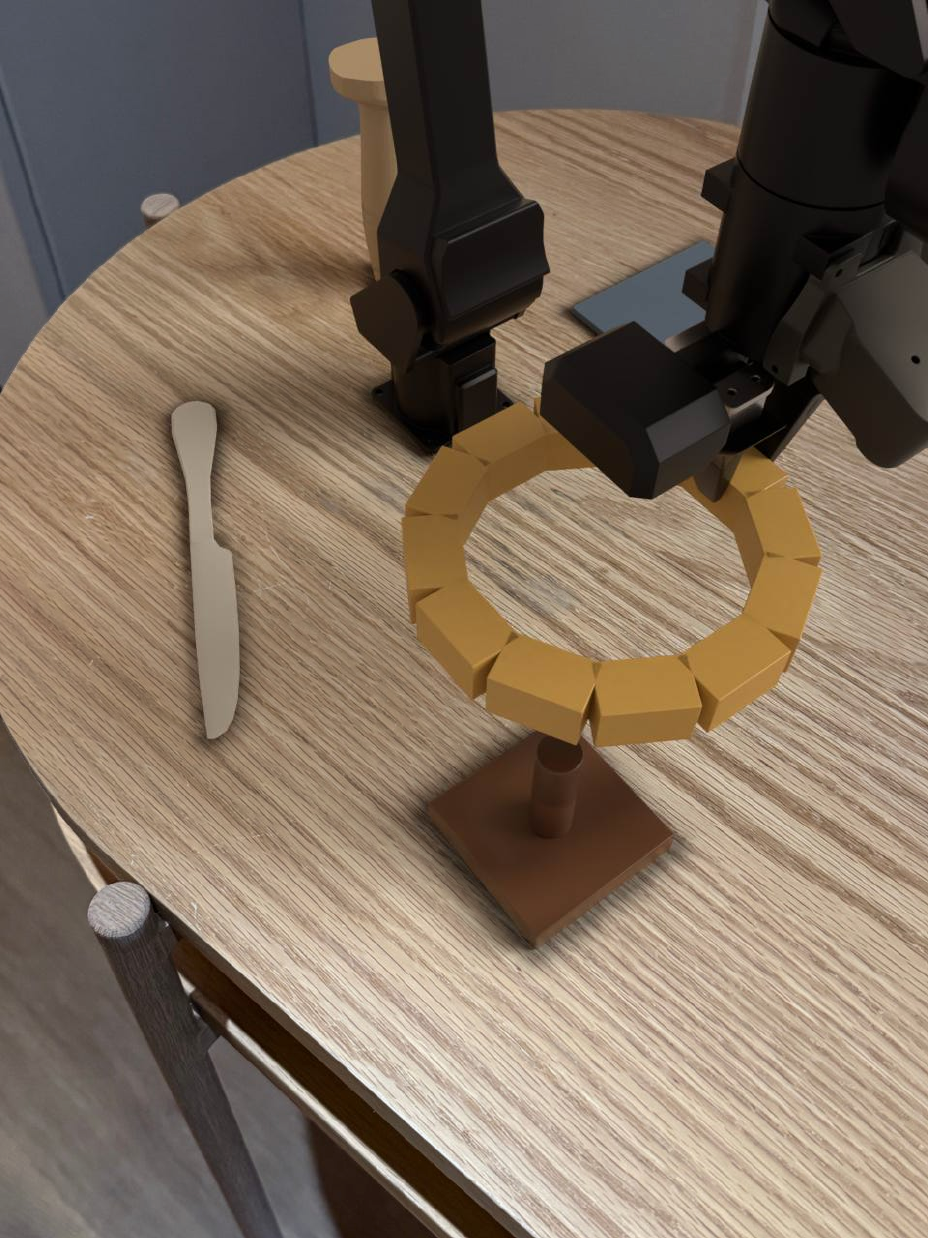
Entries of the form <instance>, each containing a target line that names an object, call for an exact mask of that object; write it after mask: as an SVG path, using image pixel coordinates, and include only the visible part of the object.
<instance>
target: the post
mask: <svg viewBox="0 0 928 1238" xmlns="http://www.w3.org/2000/svg"><path fill="white" fill-rule="evenodd" d="M427 805H428V818H429V820H430V822H432V823H433V824H434V826H435V827H436V828H437V830H438V831H439V832H440V833H441V834H442V835H443V837H444V838H445V839H446V841H447V842H448V843H449V844H450V846H451V847H452V848H453V849H454V850H455V852H456V853H457V854H458V855H459V856H460V858H461V860H463V862H464V863H465V864H466V865H467V867H468V868H469V869H470V870H471V871H472V873H473V874H474V875H475V876H476V878H477V879H478V880H479V881H480V883H481V884H482V885H483V886H484V888H485V889H486V890H487V891H488V892H489V894H490V895H491V896H492V897H493V899H494V900H495V901H496V903H497V904H498V906H500V908H501V909H502V910H503V911H504V913H506V915H507V916H508V918H509V919H510V920H511V921H512V922H513V924H514V925H515V926H516V927H517V929H518V930H519V931H520V932H521V934H522V935H523V936H524V937H525V938H526V939H527V941H528V942H529V943H530V944H531V946H532V947H533V948H534V949H535V950H538V949H539V948H541V947H542V946H543V945H545V944H546V943H547V942H548V941H550V940H551V939H553V938H555V936H556V935H557V934H559V933H561V932H562V931H563V930H565V929H566V928H567V927H568V926H570V925H571V924H572V923H574V922H575V921H576V920H578V918H581V917H582V916H583V915H584V914H586V913H587V912H589V910H591V909H592V908H594V907H595V906H596V905H598V904H599V903H600V902H602V901H603V900H604V899H606V898H607V897H608V896H610V895H611V894H612V893H614V891H616V890H618V889H619V888H620V887H621V886H623V885H625V883H627V882H628V881H629V880H631V879H632V878H633V877H634V876H636V875H638V874H639V873H640V872H641V871H642V870H644V869H645V868H647V867H648V866H650V865H651V864H653V862H654V861H656V860H657V859H658V858H660V857H661V856H662V855H664V854H665V853H666V852H668V851H669V850H670V849H671V846H672V843H673V841H674V837H675V833H674V832H673V831H672V830H671V829H670V828H669V827H668V826H667V824H665V823H664V821H663V820H662V819H661V818H659V816H658V815H657V814H656V813H655V812H654V811H653V810H652V809H651V807H649V806H648V804H647V803H646V802H645V801H644V800H643V799H642V798H641V797H640V796H639V795H638V793H636V792H635V790H634V789H633V788H631V786H630V785H629V784H628V783H627V782H626V781H625V780H624V778H622V776H620V774H619V773H617V771H616V770H615V769H614V768H613V767H612V766H611V764H609V763H608V762H607V760H605V759H604V757H602V756H601V754H600V753H599V752H598V751H597V749H595V747H594V746H592V745H591V744H590V743H589V742H588V741H587V740H586V738H585V737H584V736H583V735H582V734H581V737H580V739H579V741H578V743H577V745H574V744H571V743H568V742H566V741H563V740H560V739H558V738H555V737H553V736H550V735H547V734H545V733H542V732H539V731H537V730H534V732H532V733H530V734H529V735H528V736H526V737H525V738H523V739H522V740H520V741H519V742H517V743H515V744H514V745H513V746H511V747H510V748H508V749H507V750H505V751H504V752H502V753H501V754H499V755H498V756H496V757H495V758H492V760H491V761H489V762H488V763H485V764H484V765H483V766H481V767H479V768H478V769H477V770H475V771H474V772H471V774H470V775H468V776H466V777H465V778H463V779H462V780H460V781H459V782H457V783H456V784H455V785H453V786H451V787H450V788H449V789H447V790H445V791H444V792H442V793H441V794H439V795H438V796H436V797H435V798H433V799H432V800H431V801H429V802H428V804H427Z"/></svg>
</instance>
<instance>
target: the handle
mask: <svg viewBox="0 0 928 1238" xmlns="http://www.w3.org/2000/svg"><path fill="white" fill-rule="evenodd" d="M328 66H329V67H328V68H329V76H330V82H331V86H332V88H333V89H334V91H335V92H336V93H337V94H339V95H340V96H341V97H342V98H345V99H347V100H349V101H352V102H356V103H357V106H358V112H359V131H360V132H359V133H360V201H361V203H360V204H361V214H362V215H361V216H362V217H361V218H362V224H363V231H364V238H365V242H366V247H367V251H368V254H369V257H370V263H371V267H372V271H373V276H374V280H375V282H376V281H378V280H379V279H380V268H379V256H378V244H377V228H378V225H379V223H380V220H381V217H382V214H383V212H384V209H385V206H386V204H387V201H388V198H389V195H390V193H391V190H392V187H393V185H394V182H395V179H396V176H397V161H396V155H395V148H394V142H393V136H392V129H391V123H390V117H389V111H388V104H387V98H386V92H385V85H384V79H383V73H382V67H381V60H380V54H379V48H378V41H377V36H376V37H367V38H366V37H365V38H361V39H358V40H357V39H356V40H354V41H351V42H348V43H345V44H343V45H340V46H337V47H334V49H332V51H330V53H329V56H328Z"/></svg>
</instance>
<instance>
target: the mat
mask: <svg viewBox="0 0 928 1238" xmlns="http://www.w3.org/2000/svg"><path fill="white" fill-rule="evenodd" d="M714 251H715V247H714V246H713V245H711V244H710V243H708V242H707V241H705V240H702V241H699V242H698V243H695V244H694V245H692V246H690V247H687V248H686V249H684V250H682V251H679V252H678V253H676V254H674V255H672V256H669V257H668V258H666V259H664V260H663V261H660V262H658V263H656V264H653V265H651V266H650V267H648V268H646V269H644V270H642V271H640V272H638V273H636V274H634V275H631V276H630V277H628V278H626V279H624V280H622V281H620V282H618V283H617V284H615V285H612V286H611V287H608V288H607V289H604V290H602V291H600V292H598V293H597V294H594V295H592V296H591V297H588V298H587V299H585V300H583V301H581V302H579V303H576V304H574V305H572V306H571V310H570V311H571V314H572V315H574V316H575V317H576V318H577V319H578V320H579V321H581V322H582V323H583V324H584V325H585V326H587V327H589V328H590V329H591V330H592V331H593V332H595V333H596V334H597V335H600V334H602V333H604V332H606V331H608V330H610V329H612V328H614V327H617V326H620V325H623V324H626V323H629V322H632V321H635V322H637V323H638V324H639V325H640V326H642V327H643V328H644V329H645V330H646V331H648V332H649V333H650V334H651V335H653V336H654V337H655V338H656V339H658V340H659V341H660V342H661V343H663V344H665V341H666V340H667V339H668V338H670V337H672V336H674V335H676V334H678V333H680V332H681V331H683V330H685V329H687V328H689V327H691V326H693V325H695V324H697V323H699V322H701V321H703V320H704V319H705V313H706V311H705V310H704V309H702V308H701V307H700V306H698V305H697V304H696V303H695V302H693V301H692V300H691V299H689V298H688V297H687V296H685V295H684V294H683V293H682V287H683V282H684V277H685V272H686V270H687V269H690V268H692V267H694V266H696V265H698V264H700V263H702V262H704V261H706V260H708V259H710V258H712V257H713V256H714Z"/></svg>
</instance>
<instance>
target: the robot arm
mask: <svg viewBox="0 0 928 1238" xmlns="http://www.w3.org/2000/svg"><path fill="white" fill-rule="evenodd" d="M764 2H766V4H767V5H768V6H767V10H766V15H765V19H764V23H763V28H762V33H761V37H760V42H759V47H758V52H757V56H756V60H755V65H754V70H753V74H752V79H751V83H750V88H749V91H748V97H747V102H746V106H745V111H744V115H743V120H742V123H741V124H742V125H741V129H740V133H739V138H738V143H737V146H736V151H735V155H734V157H732V158H729V159H727V160H725V161H723V162H721V163H718V164H715V165H714V166H711V167H710V168H708V169H706V170H705V171H704V177H703V180H702V181H703V182H702V187H701V192H700V197H701V198H702V199H703V200H705V201H706V202H708V203H709V204H711V205H712V206H714V207H715V208H716V209H718V210H719V211H721V212H722V215H721V220H720V224H719V229H718V233H717V238H716V242H715V247H714V248H715V251H714V256H713V257H712V258H710V259H708V260H706V261H704V262H702V263H700V264H698V265H696V266H694V267H692V268H690V269H687V270H686V272H685V277H684V282H683V287H682V293H683V294H684V295H685V296H687V297H688V298H689V299H691V300H692V301H693V302H695V303H696V304H697V305H698V306H700V307H701V308H702V309H704V310H705V311H706V313H705V319H704V320H703V321H701V322H699V323H697V324H695V325H693V326H691V327H689V328H687V329H685V330H683V331H681V332H680V333H678V334H676V335H674V336H672V337H670V338H668V339H667V340H666V341H665V344H663V343H661V342H660V341H659V340H658V339H656V338H655V337H654V336H653V335H651V334H650V333H649V332H648V331H646V330H645V329H644V328H643V327H642V326H640V325H639V324H638V323H637V322H635V321H632V322H629V323H626V324H623V325H620V326H617V327H614V328H612V329H610V330H608V331H606V332H604V333H602V334H600V335H599V334H597V336H595V337H593V338H591V339H589V340H587V341H585V342H583V343H581V344H579V345H577V346H575V347H573V348H571V349H569V350H567V351H565V352H563V353H560V354H559V355H557V356H555V357H553V358H551V359H549V360H547V361H545V362H544V367H543V373H542V380H541V391H540V392H541V393H540V397H541V402H540V414H539V415H540V416H542V417H543V418H544V419H545V420H546V421H547V422H548V423H549V424H550V425H551V426H552V427H553V428H555V429H556V430H557V431H558V432H559V433H560V434H561V435H562V436H563V437H564V438H565V439H567V440H568V441H569V442H570V443H571V444H572V445H573V446H574V447H575V448H576V449H577V450H578V451H580V452H581V453H582V454H583V455H584V456H585V457H586V458H587V459H588V460H589V461H590V462H592V463H593V464H594V465H595V466H596V467H595V468H597V469H598V470H599V471H600V472H601V473H602V474H603V475H604V476H605V477H606V478H608V479H609V480H610V481H611V482H612V483H613V484H614V485H615V486H617V488H618V489H620V490H621V491H622V492H623V493H624V494H625V495H626V496H627V497H628V498H632V499H640V500H649V501H653V500H654V499H656V498H658V497H660V496H661V495H663V494H664V493H666V492H668V491H670V490H671V489H674V488H675V487H678V486H677V485H678V484H680V483H682V482H683V481H685V480H687V479H689V478H690V477H692V476H693V478H694V481H695V484H696V486H697V489H698V490H699V491H700V492H701V493H702V494H703V495H704V496H705V497H706V498H707V499H709V500H710V501H711V502H713V503H715V502H717V501H718V500H720V499H721V498H722V496H723V494H724V492H725V491H726V489H727V487H728V485H729V484H730V482H731V480H732V478H733V475H734V473H735V471H736V469H737V466H738V464H739V462H740V460H741V457H742V455H743V453H744V451H746V450H747V449H749V448H751V447H752V446H753V447H755V448H756V449H757V450H758V451H759V452H761V453H762V454H763V455H764V456H766V457H767V458H768V459H769V460H771V461H772V462H773V463H774V464H775V461H776V460H777V459H778V458H779V456H780V455H781V454H782V453H783V451H784V450H785V449H786V448H787V446H788V445H789V444H790V443H791V442H792V440H793V439H794V438H795V436H796V435H797V434H798V433H799V431H800V430H801V429H802V428H803V427H804V426H805V424H806V423H807V421H808V420H809V419H810V418H811V416H812V415H813V414H814V413H815V412H816V410H817V409H818V407H820V405H821V404H822V403H823V402H824V400H825V401H826V402H827V403H828V405H829V406H830V408H831V409H832V410H833V411H834V413H835V414H836V416H837V417H838V418H839V419H840V421H841V422H842V423H843V425H845V428H847V429H848V431H849V432H850V433H851V435H852V436H853V437H854V439H855V445H856V448H857V450H858V451H859V452H860V453H861V454H862V456H864V458H865V459H866V460H867V461H868V462H869V463H871V464H872V465H874V466H876V467H879V468H882V469H895V468H898V467H900V466H901V465H903V464H905V463H906V462H908V461H910V460H911V459H912V458H913V457H915V456H917V455H918V454H919V453H921V452H923V451H924V450H927V448H928V0H764ZM370 3H371V10H372V16H373V22H374V28H375V34H376V37H377V41H378V48H379V54H380V60H381V67H382V73H383V79H384V85H385V92H386V98H387V104H388V111H389V117H390V123H391V129H392V136H393V142H394V148H395V155H396V161H397V176H396V179H395V182H394V185H393V187H392V190H391V193H390V195H389V198H388V201H387V204H386V206H385V209H384V212H383V214H382V217H381V220H380V223H379V225H378V228H377V244H378V256H379V268H380V279H379V280H378V281H376V280H375V281H374V282H373V283H371V284H369V285H368V286H365V287H364V288H363V289H361V290H359V291H357V292H356V293H354V294H352V295H351V296H349V303H350V307H351V311H352V315H353V319H354V322H355V325H356V329H357V332H358V333H359V334H360V335H361V337H363V338H364V339H365V340H366V341H367V342H368V343H369V344H370V345H371V346H373V348H375V349H376V350H377V351H378V352H379V354H381V355H382V356H383V357H384V358H385V359H386V360H387V361H388V363H390V378H391V379H389V380H386V381H384V382H383V383H380V384H379V385H376V386H374V387H373V388H372V389H371V390H370V395H371V396H370V397H371V400H372V401H373V403H375V404H376V405H377V406H378V407H379V408H380V409H381V410H382V411H383V412H384V413H385V414H386V415H387V416H388V417H389V418H390V419H391V420H392V421H393V422H394V423H395V424H396V425H397V426H398V427H400V429H401V430H402V431H404V433H405V434H406V435H407V436H408V437H409V438H411V439H412V441H414V443H415V444H416V445H418V446H419V447H420V449H421V450H423V452H425V453H426V454H428V455H436V454H437V453H438V451H439V450H440V448H441V446H445V447H448V448H451V447H452V437H453V436H454V435H456V434H458V433H460V432H462V431H464V430H466V429H468V428H470V427H472V426H474V425H475V424H477V423H479V422H481V421H483V420H485V419H487V418H489V417H491V416H493V415H495V414H497V413H499V412H501V411H502V410H504V409H506V408H508V407H510V406H512V405H514V404H515V403H514V402H513V400H512V399H510V398H509V397H508V396H507V395H506V394H505V393H503V392H502V391H501V390H500V389H499V388H498V369H497V367H496V350H497V340H496V338H495V337H493V336H492V335H491V333H492V330H493V329H495V328H497V327H499V326H501V325H504V324H506V323H507V322H509V321H511V320H517V319H519V318H522V317H524V314H525V312H526V310H527V309H528V308H530V306H532V305H533V303H535V301H536V300H537V299H539V298H540V297H541V295H542V292H543V288H544V280H545V279H544V278H545V276H547V275H548V274H550V273H551V268H550V264H549V261H548V257H547V254H546V253H547V252H546V247H545V237H544V236H545V212H544V210H543V208H542V206H541V205H540V203H539V202H538V201H537V200H535V199H529V198H526V197H525V196H524V195H523V194H522V193H521V191H520V190H519V189H518V187H517V186H516V185H515V184H514V182H513V181H512V180H511V178H510V177H509V175H508V174H507V173H506V172H505V171H504V169H503V168H502V167H501V165H500V163H499V158H498V151H497V141H496V132H495V131H496V130H495V121H494V112H493V111H494V110H493V100H492V90H491V79H490V69H489V59H488V48H487V37H486V29H485V17H484V8H483V7H484V6H483V0H370Z"/></svg>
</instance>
